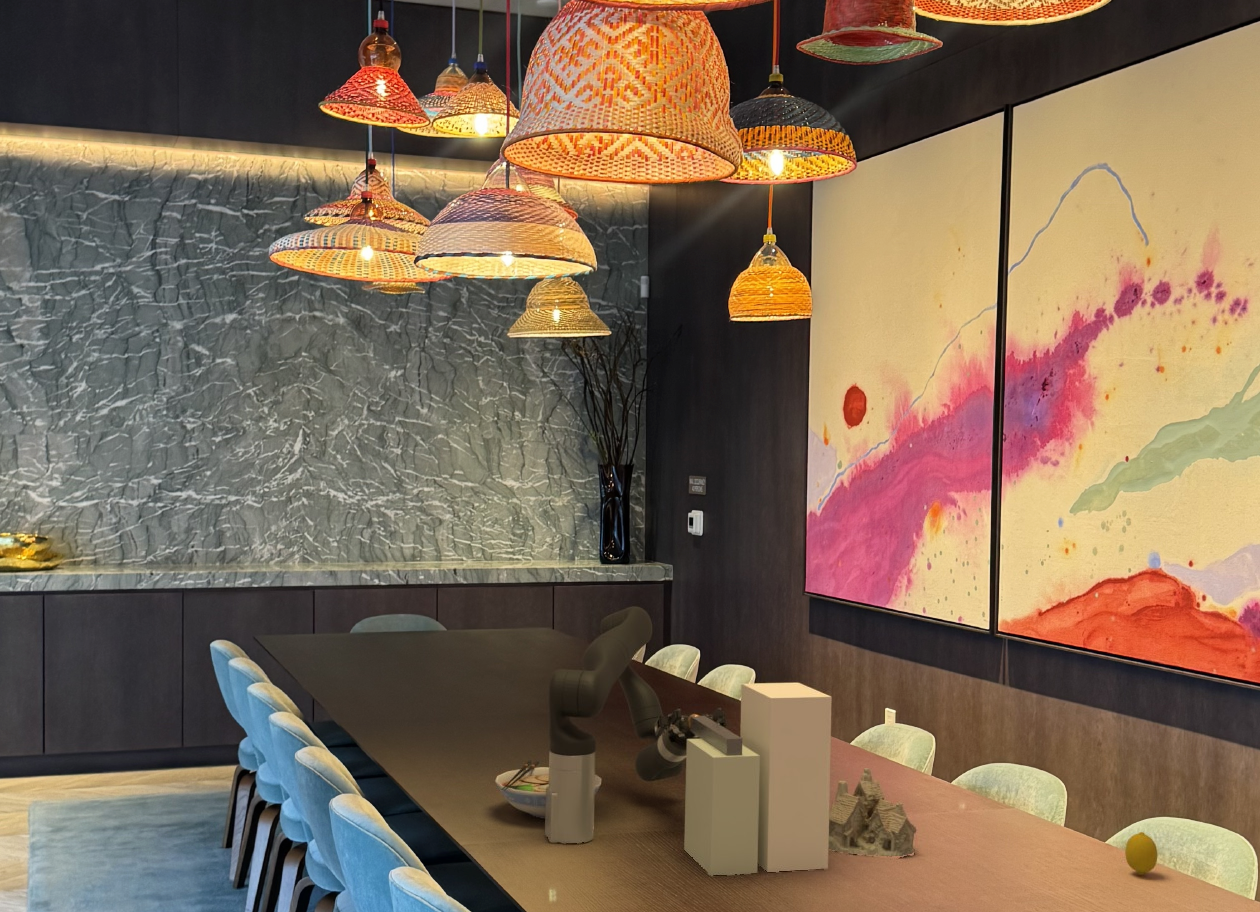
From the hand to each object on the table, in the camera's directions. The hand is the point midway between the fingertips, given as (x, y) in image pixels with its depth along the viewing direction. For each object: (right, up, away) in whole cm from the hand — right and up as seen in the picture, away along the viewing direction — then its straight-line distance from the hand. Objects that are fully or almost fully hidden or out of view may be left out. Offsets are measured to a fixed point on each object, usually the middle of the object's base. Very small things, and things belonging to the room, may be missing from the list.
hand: (700, 713), depth 247 cm
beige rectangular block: (+3, -25, -14) cm, 29 cm away
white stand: (+15, -26, -11) cm, 31 cm away
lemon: (+81, -27, -16) cm, 87 cm away
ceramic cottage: (+33, -26, -3) cm, 42 cm away
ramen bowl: (-31, -25, +16) cm, 44 cm away
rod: (+2, -4, -9) cm, 10 cm away
